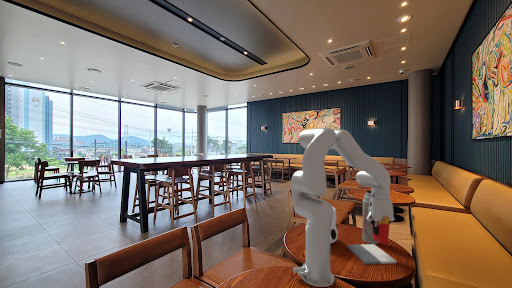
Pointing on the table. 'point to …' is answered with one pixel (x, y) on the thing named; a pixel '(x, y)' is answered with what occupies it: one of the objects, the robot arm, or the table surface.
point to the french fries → (382, 231)
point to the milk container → (333, 228)
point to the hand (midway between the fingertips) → (380, 233)
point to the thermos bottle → (367, 226)
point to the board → (371, 254)
